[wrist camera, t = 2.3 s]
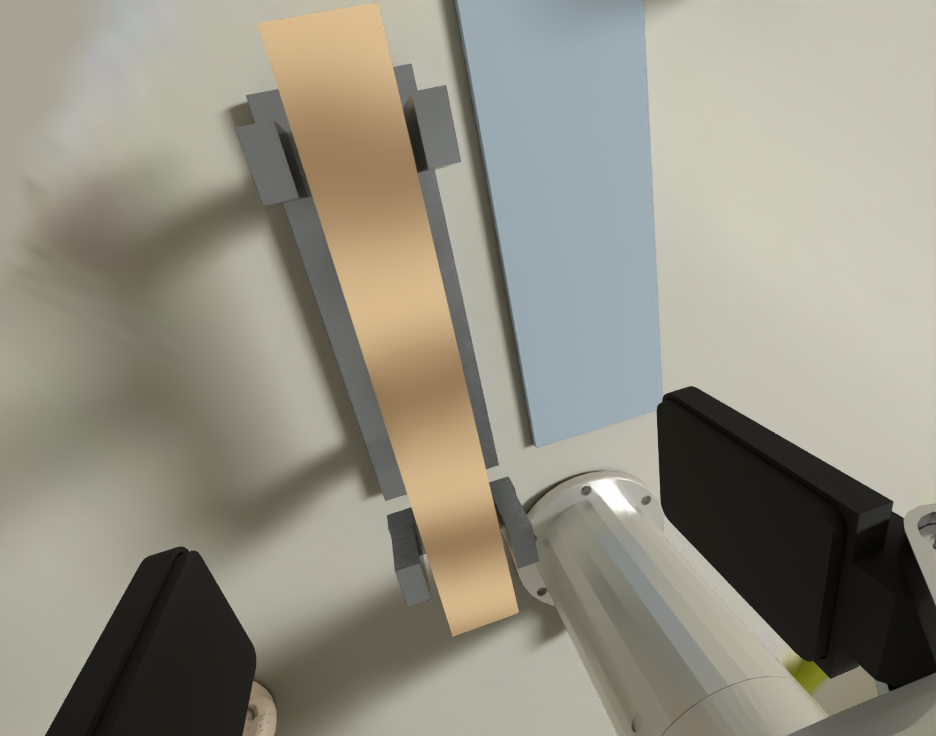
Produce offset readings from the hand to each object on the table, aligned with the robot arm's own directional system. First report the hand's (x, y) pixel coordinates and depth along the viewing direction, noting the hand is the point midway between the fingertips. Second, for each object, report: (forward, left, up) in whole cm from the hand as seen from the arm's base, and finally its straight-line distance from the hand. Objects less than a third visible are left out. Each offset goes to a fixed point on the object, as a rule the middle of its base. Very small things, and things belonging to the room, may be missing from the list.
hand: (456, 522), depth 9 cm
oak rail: (0, 0, -8) cm, 8 cm away
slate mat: (+2, -12, -20) cm, 24 cm away
